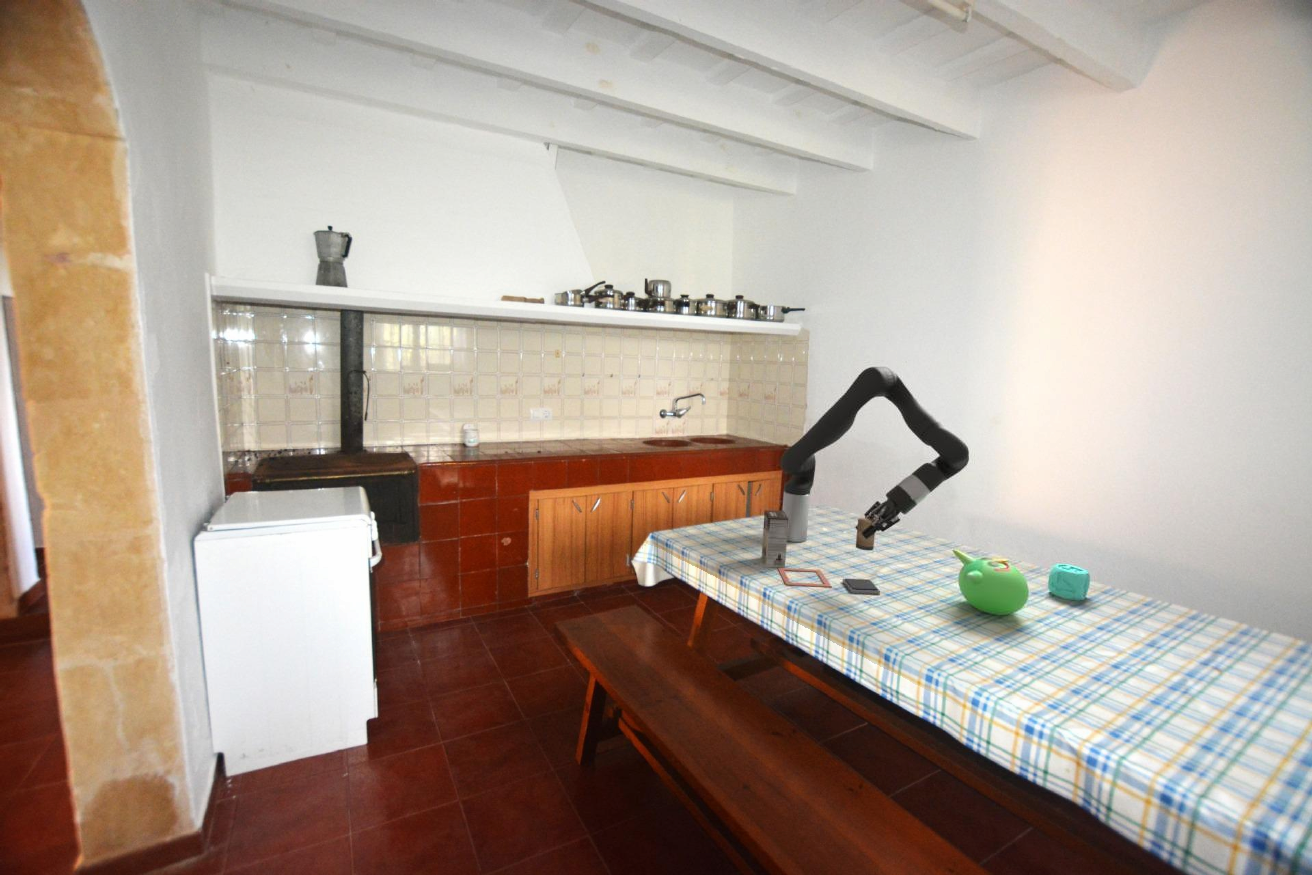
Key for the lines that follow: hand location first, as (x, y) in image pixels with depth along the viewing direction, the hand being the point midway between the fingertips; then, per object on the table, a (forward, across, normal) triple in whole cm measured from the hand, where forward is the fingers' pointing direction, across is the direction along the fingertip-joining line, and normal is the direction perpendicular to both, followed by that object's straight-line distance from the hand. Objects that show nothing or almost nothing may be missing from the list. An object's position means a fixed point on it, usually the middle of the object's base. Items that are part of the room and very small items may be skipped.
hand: (860, 533), depth 163 cm
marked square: (+21, -6, +2) cm, 22 cm away
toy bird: (-11, +11, +34) cm, 37 cm away
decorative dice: (-32, -2, +55) cm, 64 cm away
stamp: (+2, 0, +4) cm, 4 cm away
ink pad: (+11, 0, +12) cm, 16 cm away
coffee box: (+26, -18, -3) cm, 32 cm away
